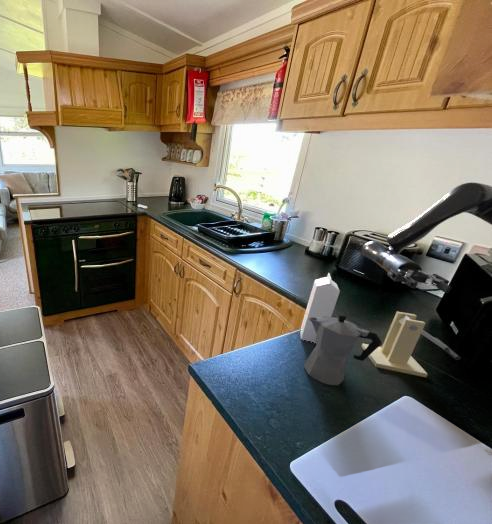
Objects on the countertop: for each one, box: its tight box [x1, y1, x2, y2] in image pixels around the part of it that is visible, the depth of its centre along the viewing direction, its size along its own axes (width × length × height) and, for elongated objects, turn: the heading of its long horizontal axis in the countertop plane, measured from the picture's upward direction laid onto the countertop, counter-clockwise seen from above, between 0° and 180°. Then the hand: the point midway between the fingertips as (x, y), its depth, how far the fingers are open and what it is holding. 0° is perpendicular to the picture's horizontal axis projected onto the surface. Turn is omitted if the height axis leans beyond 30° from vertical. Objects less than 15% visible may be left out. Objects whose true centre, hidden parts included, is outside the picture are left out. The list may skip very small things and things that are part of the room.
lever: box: [399, 315, 461, 361], centre depth 80 cm, size 14×9×2 cm, turn 72°
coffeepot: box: [303, 313, 382, 386], centre depth 74 cm, size 15×9×18 cm, turn 58°
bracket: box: [361, 311, 429, 378], centre depth 82 cm, size 12×10×15 cm
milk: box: [299, 272, 341, 344], centre depth 90 cm, size 6×6×22 cm
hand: (431, 287), depth 87 cm, fingers open, 8 cm apart
